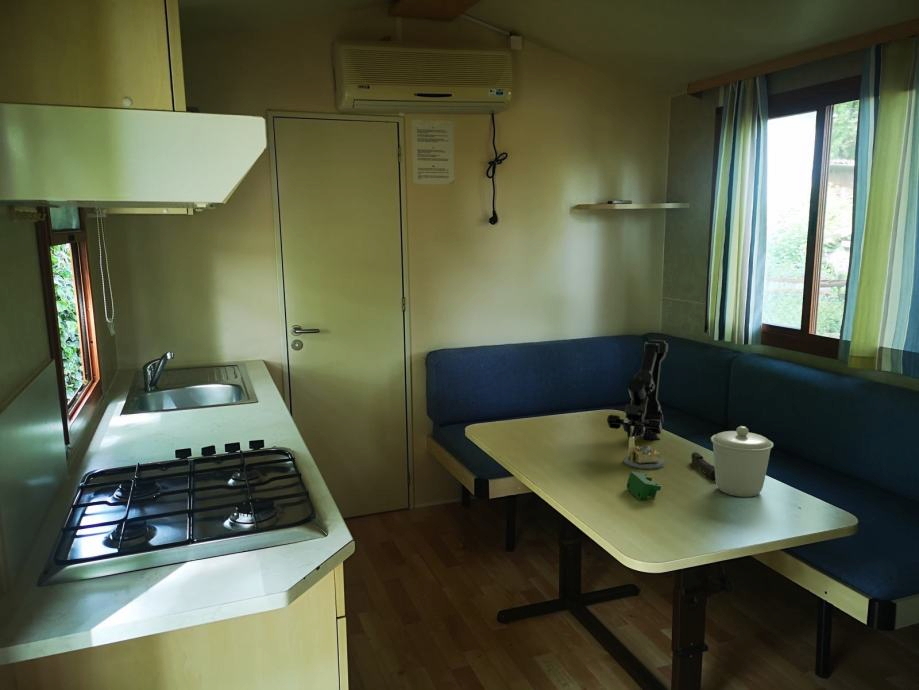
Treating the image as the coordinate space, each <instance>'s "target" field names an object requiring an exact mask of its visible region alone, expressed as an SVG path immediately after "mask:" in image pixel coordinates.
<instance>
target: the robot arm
mask: <svg viewBox="0 0 919 690" xmlns="http://www.w3.org/2000/svg"><path fill="white" fill-rule="evenodd" d="M643 351H644V356H643V358H642V363H641V367H640V370H639V371H638V372H637V373H635V375H634V378H633V379H631V380H630V381H628V383H627V389H628V390H627V391H628V393H629V397H630V398H631V400H630V404H626V405H625V410H624V414H625V418H623V419H621V417H620V415H619V414H609V415H607V418H606V422H607V424H608V427H609V429H615V430H616V429H617V430H618V429H620V428H621V427H622V428H623V432H626V435H627V441H628V444H629V436H635V441H636V440H637V439H638V438H639V437H641V438H642V439H643V440H649V441H651V440H650V439H660V440H661V438H660V437H659V435H660V434H662V431H663V427H662V425H663V424H664V415H663V412H662V409H661V408H662V406H661V405H660V402H659V400H658V396H659V385H660V376H661V365H662V362H663V361H664V360H665V358H666V357H667V353H668V352H669V343H666V340H664V339H663V340H661V339H649V340H648V341H646V342H645V341H644V346H643Z"/></svg>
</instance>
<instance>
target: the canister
mask: <svg viewBox="0 0 919 690" xmlns="http://www.w3.org/2000/svg"><path fill="white" fill-rule="evenodd" d="M710 440H711V442H712V447H713V466H714V468H715V479H716V481H715V484H716V486H717V488H718V489H719V491H721V492H722V493H724V494H727V495H729V496H734V497H739V498H750V497H755V496H757V495H760V493H761V492H762V490H763V487H764V485H765V484H764V483H765V479H766V476H767V470H768V469H767V468H768V467H769V466H768V464H769V460H770V454H771V450H772V448H774V442H773V441H771V440H770V439H768V438H767V437H765V436H763V435H761V434H757V433H754V432H749V428H747V426H743V425H740V426H738V427H736V430H727V431H722V432H718V433H716V434H713V435H712V436H711V437H710Z"/></svg>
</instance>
